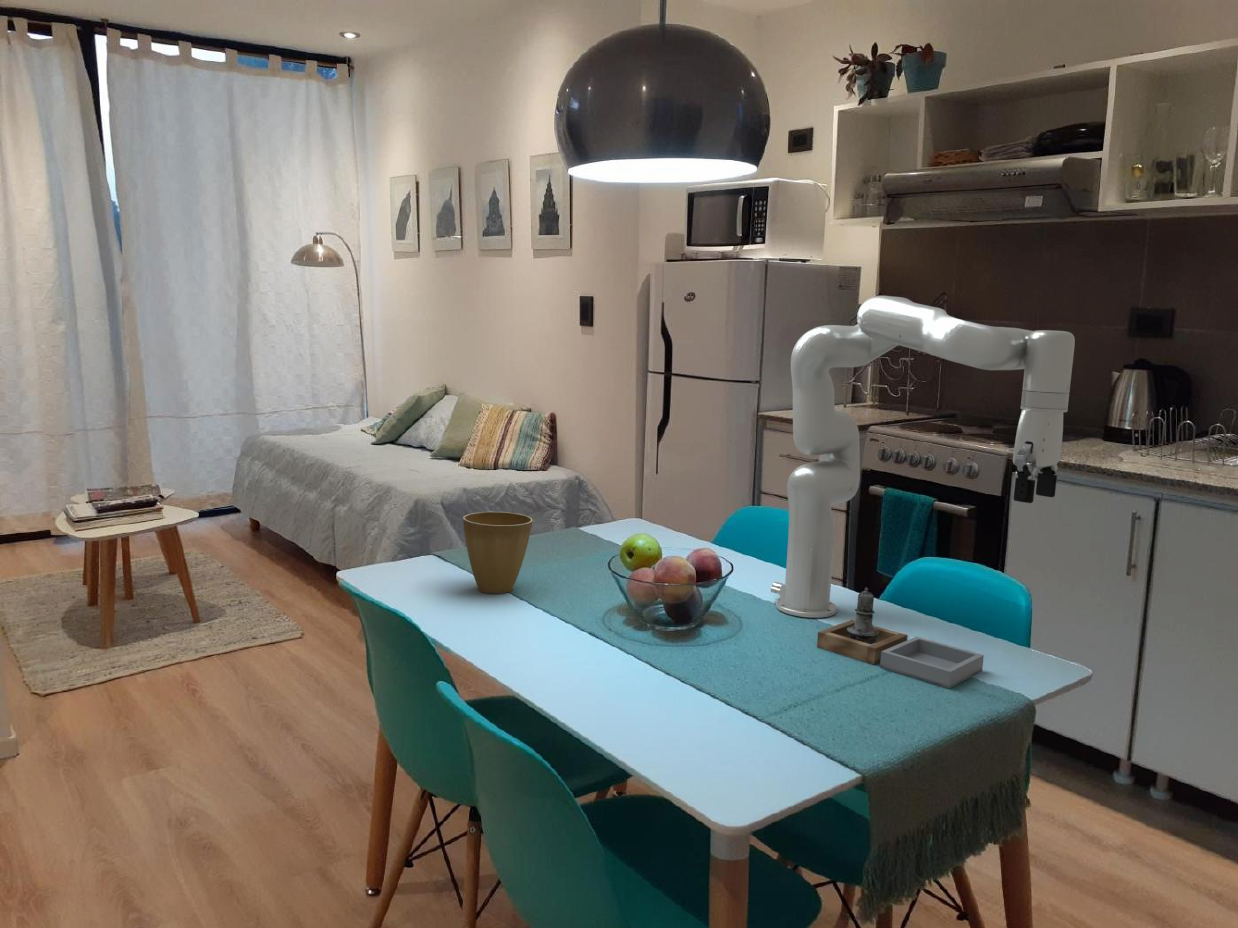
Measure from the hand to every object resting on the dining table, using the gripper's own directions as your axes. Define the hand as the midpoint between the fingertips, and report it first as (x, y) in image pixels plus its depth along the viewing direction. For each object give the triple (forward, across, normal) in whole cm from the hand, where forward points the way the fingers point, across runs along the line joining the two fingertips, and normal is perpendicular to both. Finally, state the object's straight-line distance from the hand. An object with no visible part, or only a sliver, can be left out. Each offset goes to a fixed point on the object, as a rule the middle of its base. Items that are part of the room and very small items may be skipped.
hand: (1034, 498), depth 172 cm
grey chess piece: (+31, +13, -24) cm, 42 cm away
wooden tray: (+31, +13, -24) cm, 41 cm away
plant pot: (+31, +42, -97) cm, 110 cm away
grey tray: (+31, +13, -10) cm, 35 cm away
